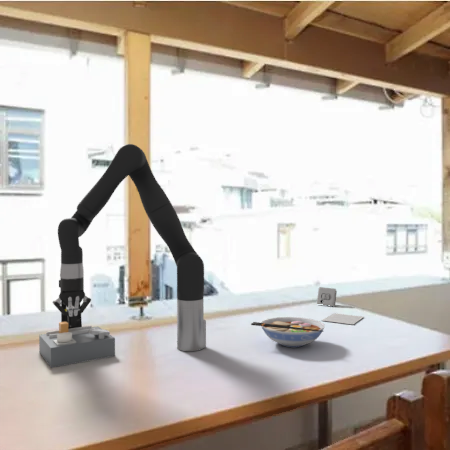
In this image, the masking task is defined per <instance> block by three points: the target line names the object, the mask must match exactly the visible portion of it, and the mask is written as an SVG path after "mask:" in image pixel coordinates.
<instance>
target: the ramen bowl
mask: <svg viewBox="0 0 450 450" xmlns="http://www.w3.org/2000/svg"><path fill="white" fill-rule="evenodd" d="M250 325H251V326H255V327H257V326H259V327H261V329H262V330H263V332H264V333H265V335H266V336H267V337H268V338H269V339H270V340H271V341H272V342H274V343H277V344H279V345H282V346H284V347H287V348H300V347H302V346H305V345H308V344H310V343H313V342H314V341H316V340H317V339H318V338H319V337H320V336H321V334H322V333H323V332H324V329H325V324H324V323H323V322H321V321H319V320H315V319H312V318H306V317H297V316H296V317H295V316H282V317H280V316H279V317H272V318H267V319H264V320H262V321H261V322H257V321H253V322H251V324H250Z"/></svg>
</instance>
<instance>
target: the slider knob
mask: <svg viewBox="0 0 450 450" xmlns="http://www.w3.org/2000/svg"><path fill="white" fill-rule="evenodd" d="M58 330H59V333H64V332H68V323H67V322H61V321H59V322H58Z"/></svg>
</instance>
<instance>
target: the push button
mask: <svg viewBox="0 0 450 450" xmlns="http://www.w3.org/2000/svg"><path fill="white" fill-rule="evenodd" d="M71 340H72V333H70V332H64V333H59V334H57V342H69V341H71Z"/></svg>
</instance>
